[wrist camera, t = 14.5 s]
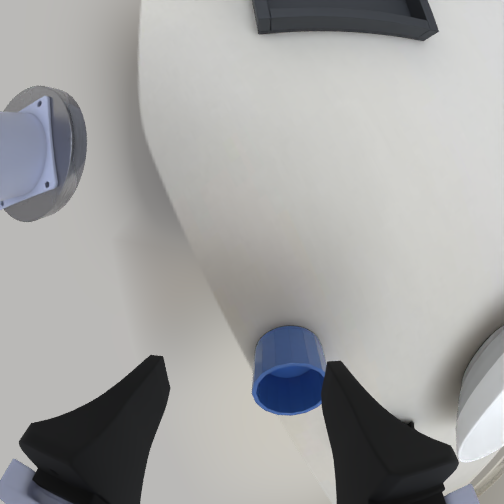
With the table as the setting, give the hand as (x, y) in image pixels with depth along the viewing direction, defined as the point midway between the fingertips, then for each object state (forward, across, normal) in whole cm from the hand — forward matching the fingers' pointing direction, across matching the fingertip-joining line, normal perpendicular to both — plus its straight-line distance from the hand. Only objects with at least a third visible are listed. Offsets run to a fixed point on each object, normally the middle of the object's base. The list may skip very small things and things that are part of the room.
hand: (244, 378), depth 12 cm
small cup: (+9, -3, +6) cm, 11 cm away
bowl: (+9, -29, +10) cm, 32 cm away
